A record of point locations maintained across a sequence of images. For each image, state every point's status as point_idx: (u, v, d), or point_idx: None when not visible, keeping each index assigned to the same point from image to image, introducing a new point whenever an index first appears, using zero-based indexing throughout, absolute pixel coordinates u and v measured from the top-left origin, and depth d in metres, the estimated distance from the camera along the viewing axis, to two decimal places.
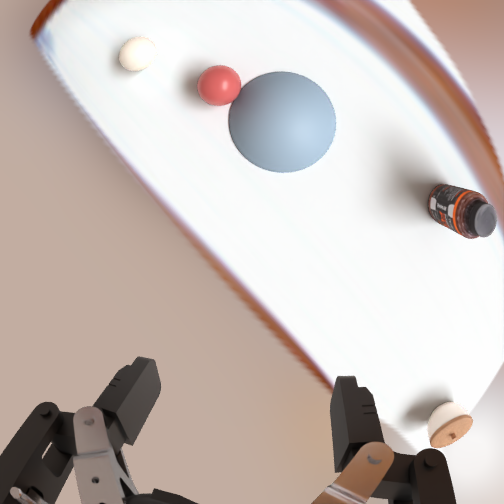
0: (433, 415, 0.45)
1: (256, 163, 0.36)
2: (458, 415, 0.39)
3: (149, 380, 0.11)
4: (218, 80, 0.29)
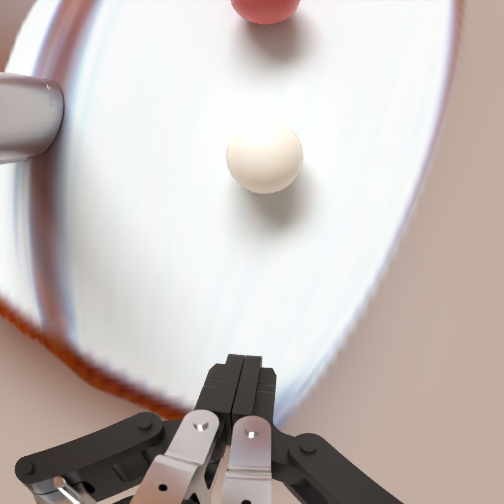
0: None
1: None
2: None
3: None
4: None
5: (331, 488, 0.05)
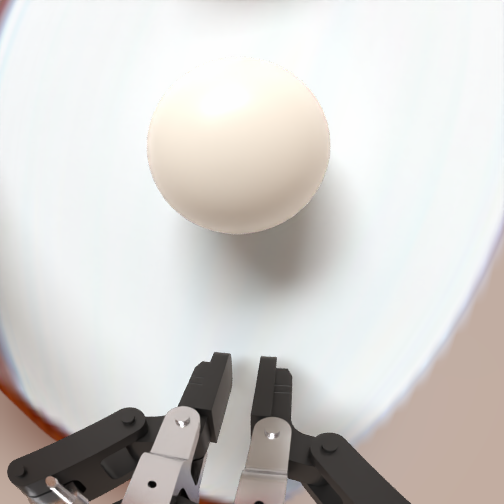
0: None
1: None
2: None
3: (227, 375, 0.12)
4: None
5: (347, 488, 0.05)
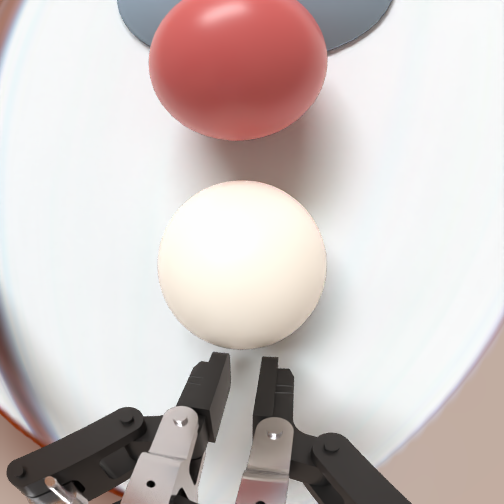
0: None
1: None
2: None
3: (226, 375, 0.12)
4: None
5: (349, 488, 0.05)
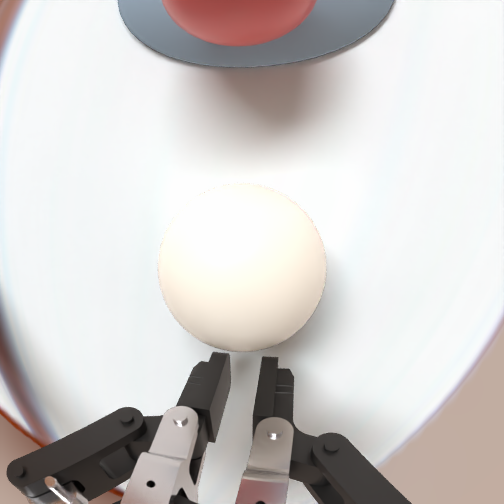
0: None
1: None
2: None
3: (226, 375, 0.12)
4: None
5: (349, 488, 0.05)
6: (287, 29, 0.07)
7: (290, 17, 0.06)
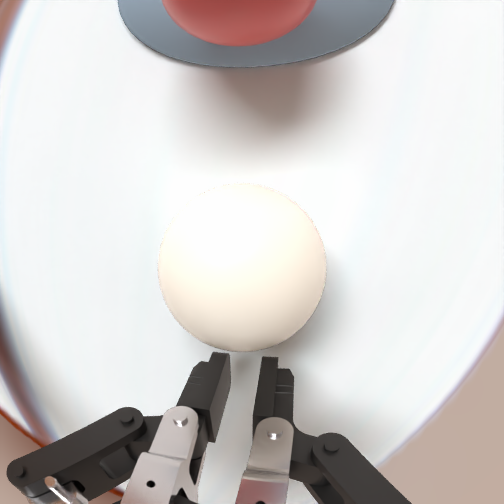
0: None
1: None
2: None
3: (226, 375, 0.12)
4: None
5: (349, 488, 0.05)
6: (287, 29, 0.07)
7: (290, 17, 0.06)
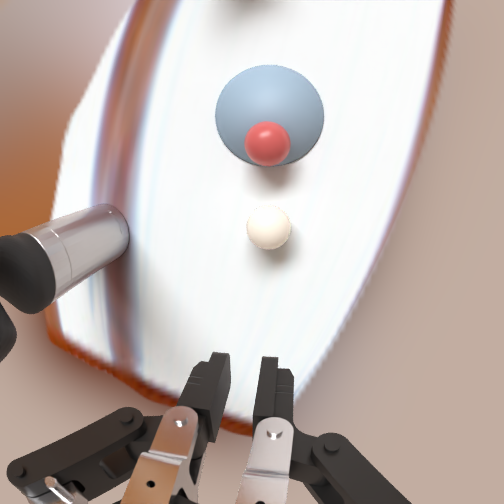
0: None
1: (321, 114, 0.33)
2: None
3: (226, 375, 0.12)
4: None
5: (349, 488, 0.05)
6: None
7: (281, 161, 0.32)
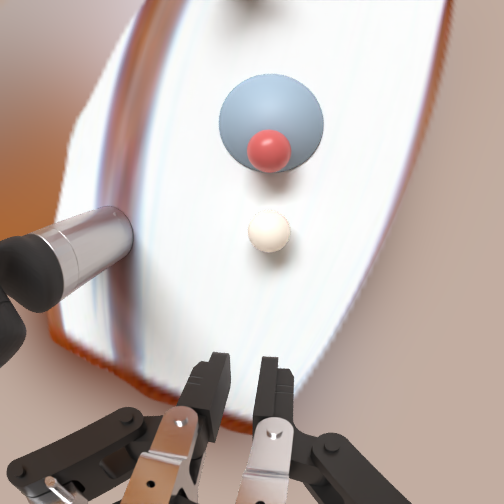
0: None
1: (321, 123, 0.34)
2: None
3: (226, 375, 0.12)
4: None
5: (349, 488, 0.05)
6: (281, 168, 0.35)
7: None
